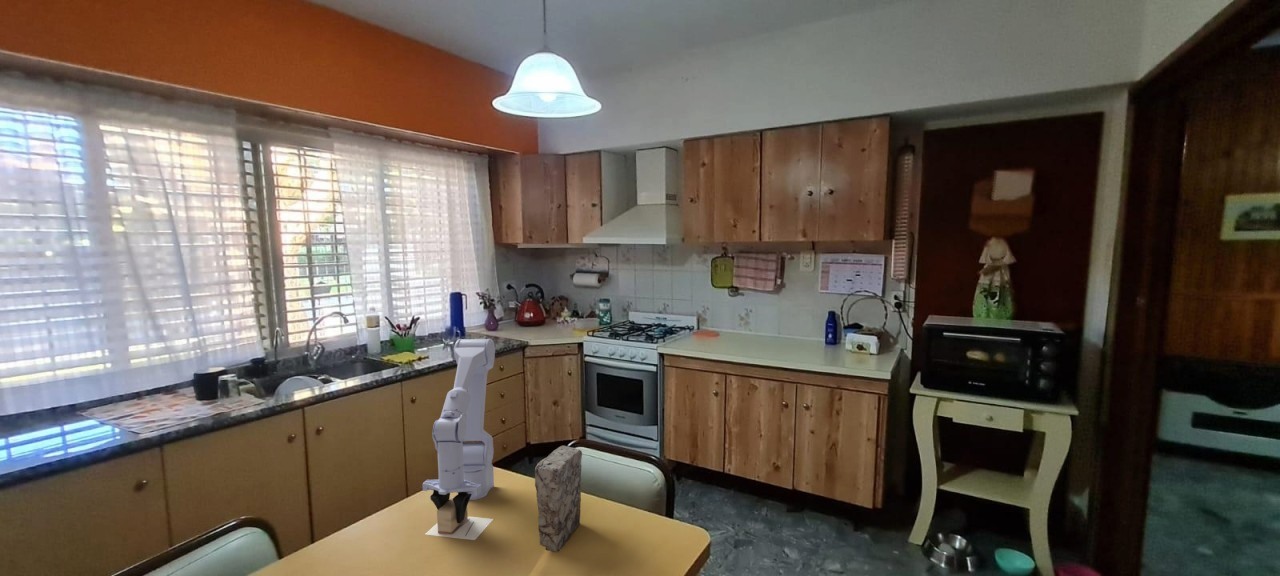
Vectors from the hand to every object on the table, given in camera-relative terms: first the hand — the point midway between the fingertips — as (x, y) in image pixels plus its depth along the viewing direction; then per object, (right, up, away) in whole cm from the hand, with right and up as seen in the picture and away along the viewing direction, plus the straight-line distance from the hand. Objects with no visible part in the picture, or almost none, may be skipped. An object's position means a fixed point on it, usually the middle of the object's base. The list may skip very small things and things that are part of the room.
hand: (452, 520), depth 117 cm
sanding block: (0, -1, 0) cm, 1 cm away
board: (+2, -3, 0) cm, 3 cm away
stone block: (+27, -3, -2) cm, 27 cm away
